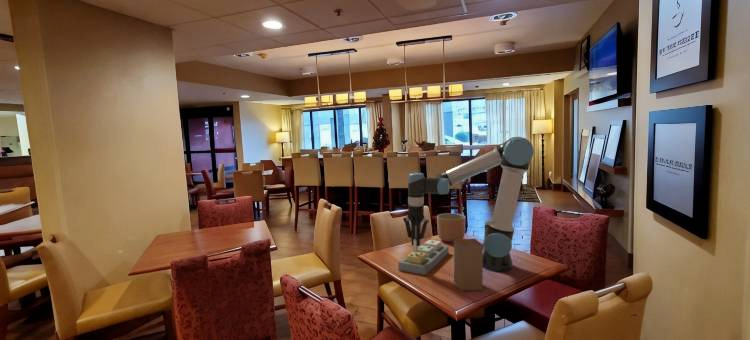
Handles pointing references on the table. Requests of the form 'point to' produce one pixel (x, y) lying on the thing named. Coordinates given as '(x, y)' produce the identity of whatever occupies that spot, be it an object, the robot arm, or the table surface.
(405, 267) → the tile board
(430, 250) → the tile two
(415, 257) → the tile three
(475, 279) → the wooden block
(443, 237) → the planter
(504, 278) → the table surface
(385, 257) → the table surface
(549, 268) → the table surface
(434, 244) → the tile one
